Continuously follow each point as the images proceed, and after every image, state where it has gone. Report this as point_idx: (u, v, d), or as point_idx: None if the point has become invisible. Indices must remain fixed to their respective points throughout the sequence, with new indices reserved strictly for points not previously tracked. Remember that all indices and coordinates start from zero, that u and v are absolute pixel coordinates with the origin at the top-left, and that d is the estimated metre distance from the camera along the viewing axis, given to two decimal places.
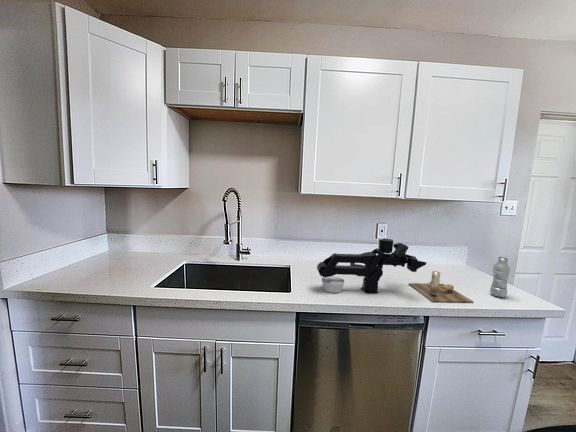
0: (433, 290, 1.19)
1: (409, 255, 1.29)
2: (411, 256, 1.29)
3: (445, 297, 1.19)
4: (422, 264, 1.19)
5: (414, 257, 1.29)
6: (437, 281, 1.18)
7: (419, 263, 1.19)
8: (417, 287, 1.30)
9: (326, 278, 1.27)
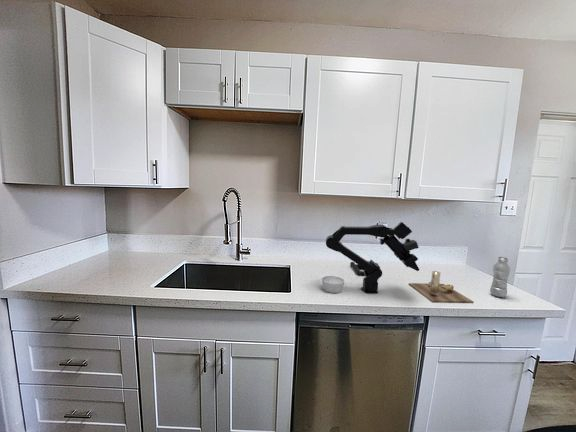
0: (433, 290, 1.19)
1: None
2: None
3: (445, 297, 1.19)
4: (415, 267, 1.17)
5: None
6: (437, 281, 1.18)
7: (413, 264, 1.17)
8: (417, 287, 1.30)
9: (326, 278, 1.27)
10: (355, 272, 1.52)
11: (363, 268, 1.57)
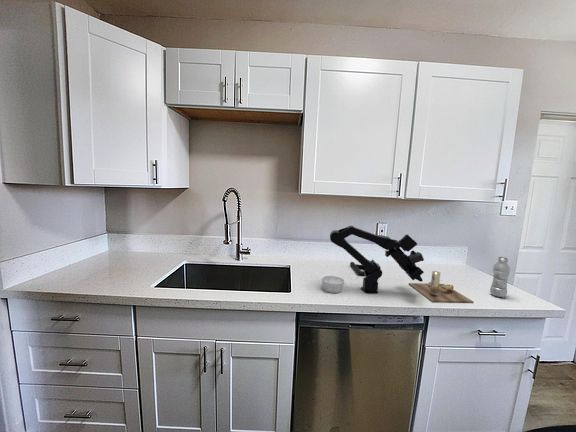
0: (433, 290, 1.19)
1: None
2: (419, 276, 1.21)
3: (445, 297, 1.19)
4: (418, 278, 1.20)
5: None
6: (437, 281, 1.18)
7: None
8: (417, 287, 1.30)
9: (326, 278, 1.27)
10: (355, 272, 1.52)
11: (363, 268, 1.58)
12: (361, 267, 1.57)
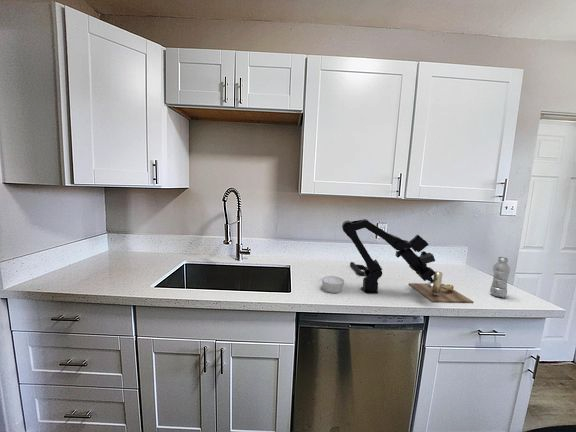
0: (435, 290, 1.19)
1: None
2: (430, 276, 1.20)
3: (445, 297, 1.19)
4: (429, 279, 1.19)
5: None
6: (439, 281, 1.18)
7: None
8: (417, 287, 1.30)
9: (326, 278, 1.27)
10: (356, 272, 1.51)
11: (363, 268, 1.58)
12: (361, 267, 1.58)
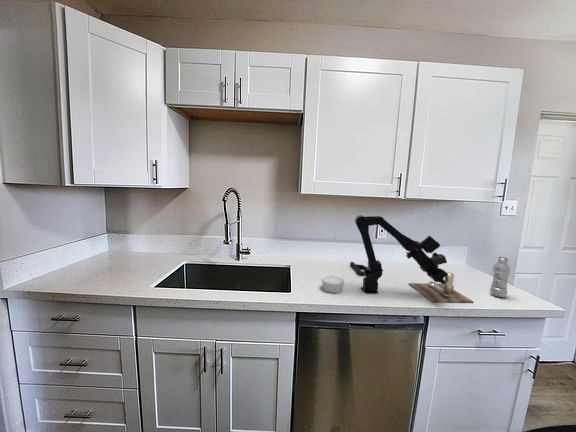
0: (448, 292, 1.18)
1: None
2: (442, 278, 1.19)
3: (445, 297, 1.19)
4: (441, 280, 1.18)
5: None
6: (452, 282, 1.17)
7: None
8: (417, 287, 1.30)
9: (326, 278, 1.27)
10: (356, 272, 1.51)
11: (363, 268, 1.58)
12: (361, 267, 1.58)
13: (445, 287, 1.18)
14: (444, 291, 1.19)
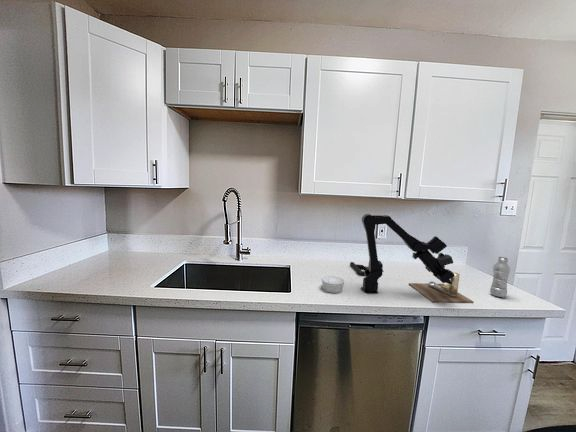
0: (455, 292, 1.18)
1: None
2: None
3: (445, 297, 1.19)
4: (447, 281, 1.18)
5: None
6: (458, 282, 1.18)
7: None
8: (417, 287, 1.30)
9: (326, 278, 1.27)
10: (356, 272, 1.51)
11: (363, 268, 1.58)
12: (361, 267, 1.58)
13: (452, 287, 1.18)
14: (450, 291, 1.19)
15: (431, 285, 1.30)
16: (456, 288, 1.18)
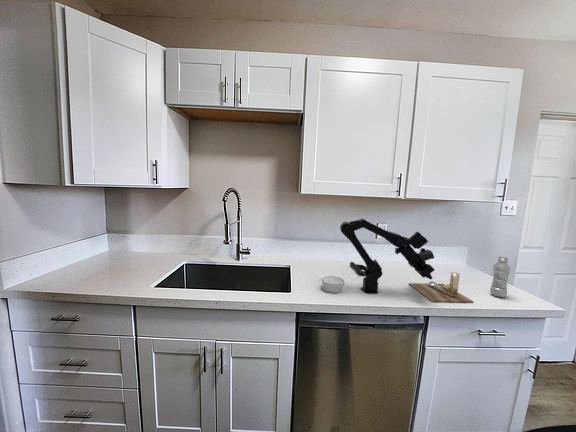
0: (455, 292, 1.18)
1: None
2: (429, 273, 1.20)
3: (445, 297, 1.19)
4: (428, 276, 1.19)
5: None
6: (458, 282, 1.18)
7: None
8: (417, 287, 1.30)
9: (326, 278, 1.27)
10: (356, 272, 1.51)
11: (363, 268, 1.58)
12: (361, 267, 1.58)
13: (452, 287, 1.18)
14: (450, 291, 1.19)
15: (431, 285, 1.30)
16: (456, 288, 1.18)
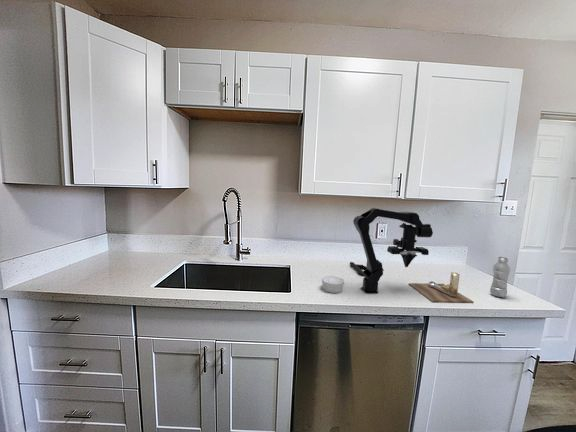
0: (455, 292, 1.18)
1: None
2: None
3: (445, 297, 1.19)
4: None
5: None
6: (458, 282, 1.18)
7: None
8: (417, 287, 1.30)
9: (326, 278, 1.27)
10: (357, 272, 1.51)
11: (363, 268, 1.58)
12: (361, 267, 1.58)
13: (452, 287, 1.18)
14: (450, 291, 1.19)
15: (431, 285, 1.30)
16: (456, 288, 1.18)
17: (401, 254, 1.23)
